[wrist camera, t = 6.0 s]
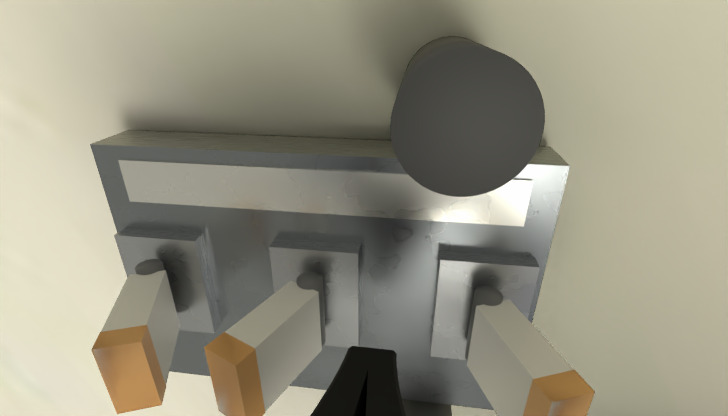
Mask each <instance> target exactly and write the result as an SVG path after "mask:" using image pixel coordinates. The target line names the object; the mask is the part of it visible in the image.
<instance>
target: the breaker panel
mask: <svg viewBox="0 0 728 416" xmlns="http://www.w3.org/2000/svg"><path fill="white" fill-rule="evenodd" d="M90 145H91V149H92V152H93V155H94V158H95V161H96V165H97V168H98V171H99V174H100V178H101V181H102V184H103V187H104V191H105V194H106V197H107V200H108V203H109V207H110V210H111V213H112V216H113V220H114V223H115V226H116V229H117V234H115V235H114V236H115V239H116V242H117V246H118V249H119V252H120V255H121V258H122V261H123V265H124V268H125V271H126V274H127V277H128V276H129V275H132V274H136V271H135V267H136V266H137V265H138V264H139V263H141V262H143V261H145V260H149V259H160V260H161V261H162V262H163V266H164V270H166V273H167V277H168V281H169V285H170V289H171V292H172V296H173V300H174V304H175V308H176V312H177V315H178V319H179V323H180V328H179V333H178V337H177V341H176V345H175V349H174V353H173V357H172V362H171V366H170V370H169V371H172V372H180V373H189V374H197V375H206V376H211V375H210V371H209V366H208V362H207V358H206V354H205V349H204V347H205V346H206V345H208V344H209V343H210V342H212V341H213V340H214V339H215V338H217V337H218V336H219V335H221V334H222V333H223V332H225V331H227V330H228V329H229V328H230V327H232V326H233V325H234V324H236V323H237V322H238V321H239V320H241V319H242V318H243V317H245V316H246V315H247V314H248V313H250V312H251V311H252V310H254V309H255V308H256V307H257V306H259V305H260V304H261V303H263V302H264V301H265V300H266V299H268V298H269V297H270V296H272V295H273V294H274V293H275V292H277V291H278V290H279V289H281V288H282V287H283V286H285V285H286V284H287V283H288V282H290V281H293V282H295V283H297V281H296V280H297V277H298V276H299V275H301V274H302V273H305V272H317V273H319V274H321V275H322V277H323V292H324V311H325V331H326V342H325V344H324V345H323V346H322V350H321V352H320V353H319V354H318V355H317V356H316V357H315V358H314V359H313V360H312V361H311V362H310V363H309V365H308V366H307V367H306V368H305V369H304V370H303V371H302V372H301V373H300V374H299V375H298V376H297V378H296V379H295V380H294V381H293V382H292V383H291V384H290V385H289V386H298V387H306V388H314V389H323V390H327V389H328V387H329V386H330V384H331V382H332V381H333V379H334V377H335V375H336V373H337V372H338V370H339V368H340V366H341V364H342V362H343V360H344V358H345V355H346V353H347V351H348V348H350V347H351V346H358V347H368V348H378V349H387V350H394V351H395V352H396V353H397V358H396V360H397V374H398V381H399V387H400V393H401V398H402V399H406V400H415V401H423V402H431V403H440V404H448V405H457V406H465V407H473V408H482V409H490V410H494V409H493V407H492V405H491V404H490V402H489V401H488V399H487V397H486V396H485V394H484V392H483V391H482V389H481V388H480V386H479V384H478V383H477V381H476V380H475V378H474V376H473V375H472V373H471V371H470V370H469V368H468V367H467V360H466V359H465V350H466V344H467V337H468V331H469V324H470V318H471V311H472V305H473V299H474V292H475V289H476V288H478V287H481V286H490V287H493V288H496V289H497V290H499V291H500V292H501V293H502V295H503V301H506V300H510V301H511V302H512V303H513V304H514V305H515V306H516V307H517V308H518V309H519V310H520V312H521V313H522V314H523V315H524V316H525V317H526V318H527V319H528V320H529V321H530V322H531V324H532V320H533V316H534V312H535V308H536V303H537V299H538V295H539V291H540V287H541V283H542V279H543V275H544V271H545V267H546V262H547V258H548V254H549V250H550V246H551V242H552V238H553V234H554V230H555V226H556V221H557V217H558V213H559V209H560V205H561V201H562V197H563V193H564V189H565V185H566V180H567V176H568V172H569V168H570V166H569V165H568V164H567V163H566V162H565V161H564V160H563V159H562V158H561V157H560V156H559V155H558V154H557V153H556V152H555V151H554V150H553V149H552V148H551V147H539V146H538V148H537V151H536V152H535V154H534V156H533V157H532V159H531V160H530V162H529V163H528V164H527V166H526V167H525V168H524V169H523V170H522V171H521V172H520V173H519V174H518V175H517V176H516V177H515V178H513V179H512V180H511V181H510V182H508V183H506V184H505V185H503V186H502V187H499V188H497V189H495V190H493V191H490V192H488V193H485V194H481V195H476V196H469V197H454V196H447V195H443V194H439V193H436V192H433V191H431V190H429V189H427V188H425V187H423V186H422V185H420V184H419V183H417V182H416V181H415V180H414V179H412V178H411V177H410V176H409V175H408V174H407V172H406V171H405V170H404V169H403V167H402V166H401V164H400V163H399V161H398V159H397V157H396V155H395V152H394V149H393V146H392V141H389V140H364V139H339V138H314V137H289V136H264V135H239V134H214V133H189V132H164V131H139V130H127V131H125V132H122V133H119V134H117V135H114V136H111V137H108V138H106V139H103V140H100V141H98V142H95V143H92V144H90Z"/></svg>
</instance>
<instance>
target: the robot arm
mask: <svg viewBox="0 0 728 416" xmlns="http://www.w3.org/2000/svg"><path fill="white" fill-rule="evenodd" d="M396 358H397V353H396V352H395V351H394V350H387V349H378V348H368V347H358V346H351V347H350V348H348V351H347V353H346V355H345V358H344V360H343V362H342V364H341V366H340V368H339V370H338V372H337V373H336V375H335V377H334V379H333V381H332V382H331V384H330V386H329V387H328V389H327V391H326V392H325V394H324V395H323V397H322V399H321V400H320V402H319V404H318V405H317V407H316V408H315V410H314V411H313V413H312V414H311V416H406V415H405V410H404V406H403V402H402V398H401V393H400V387H399V381H398V374H397V360H396Z"/></svg>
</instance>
